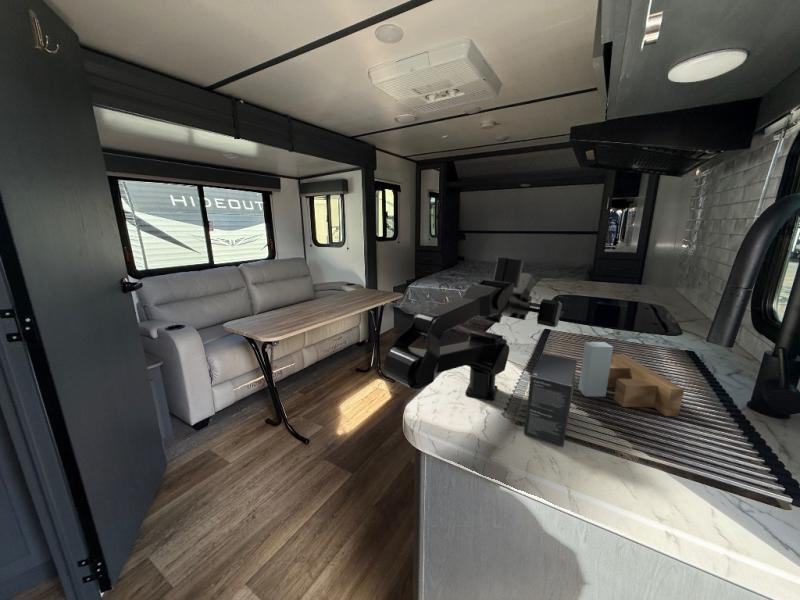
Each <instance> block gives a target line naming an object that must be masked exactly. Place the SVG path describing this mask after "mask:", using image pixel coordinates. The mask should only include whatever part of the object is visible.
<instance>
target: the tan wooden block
mask: <svg viewBox="0 0 800 600" xmlns="http://www.w3.org/2000/svg"><path fill="white" fill-rule="evenodd" d="M607 388H614V395H613V401H614V402H616V403H617V404H618V405H619V406H620V407H623V408H654V409H655V410H656V411H658V412H660V413H661V414H662V415H664V416H665V417H679V415H680V411H681V407H682V401H683V396H684V392H685V389H684V388H683V387H681V386H679V385H677V384H676V383H674V382H673V381H670V380H669V379H667V378H665V377H664V376H662V375H660V374H658V373H657V372H655V371H653V370H651V369H650V368H648V367H647V366H644V365H643V364H642V363H640V362H638V361H635V360H634V359H632V358H631V357H629V356H627V355H625V354H623V353H612V359H611V365H610V371H609V378H608V384H607Z"/></svg>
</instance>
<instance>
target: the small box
mask: <svg viewBox="0 0 800 600" xmlns="http://www.w3.org/2000/svg"><path fill="white" fill-rule="evenodd" d="M577 364H578V360H577V359H573V358H569V357H564V356H559V355H554V354H548V353H545V352H543V353H541V354H540V355H539V357H538V360H537V362H536V364H535V366H534V367H533V369H532V372H531V374H530V376H529V385H528V386H529V389H528V398H527V407H526V412H525V413H526V414H525V420H524V427H523V428H524V430H523V434H524V435H526V436H528V437H532V438H535V439H538V440H540V441H544V442H547V443H550V444H553V445H555V446H559V447H564V444H565V438H566V433H567V432H566V431H567V429H568V428H567V427H568V421H569V416H570V411H571V406H572V399H573V398H572V397H573V393H574V392H573V391H574V386H575V378H576V371H577Z"/></svg>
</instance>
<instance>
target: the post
mask: <svg viewBox="0 0 800 600" xmlns="http://www.w3.org/2000/svg"><path fill="white" fill-rule="evenodd" d="M613 351H614V346H613V345H611V344H609V343H607V342H605V341H585V342H584V345H583V353H582V361H581V369H580V374H579V383H578V391H579V390H580V391H581V394H582V393H583V394H582V395H583V396H585V397H606V396H607V389H608V387H607V384H608V378H609V371H610V365H611V363H612V358H613ZM580 391H579V392H580Z"/></svg>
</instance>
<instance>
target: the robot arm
mask: <svg viewBox="0 0 800 600" xmlns="http://www.w3.org/2000/svg"><path fill="white" fill-rule="evenodd" d="M495 265H496V266H495V270H494V274H493V279H490V278H489V279H488V278H487V279H486V278H482V279H481V280H480V281H479V282H477V283H476V284H473V285H472V286H471V287H469V288H468V289H466V290H465V291H464V294H463V296H461V297H459V298H455V299H454V300H451V301H449V302H447V303H444V304H442V305H439V306H437V307H434V308H432V309H429V310H426V311H421V312H418V313H416V314H415V315H414V316H413V318H412V320H411V321H410V324H409V326H408V327H406V328H405V329H404V330H403V331H402V332H401V333H400V334H398V335H397V336H396V337H395V338H394V340H393V342H392V344H391V346H390V348H389V350H388V351H387V354H386V355H385V357H384V363H383V370H384V373H385V375H386V376H387V377H389V378H390V379H393V380H395V382H399V383H400V384H402V385H403V386H406V387H408V388H410V389H412V390H414V391H419V390H421V389H423V388H425V387H427V386H429V385H430V384H432V383H433V382H434V381H435V379H436V377H437V374H440V373H443V372H448V371H451V370H455V369H457V368H461V367H464V366H467V367H470V368H469V384H468V386H467V387H466V391H465V392H464V393H465V396H469V397H473V398H477V399H478V398H479V399H483V400H487V401H488V400H489V401H495V399H496V396H497V392H498V386H497V385H496V376H497V375H499V374H501V373H502V372H504V371H505V370H506V367H507V363H508V362H507V361H508V358H509V354H510V346H509V345H508V344H507V343H508V341H507V339H505V338H504V336H503V335H500V334H496V333H493V332H488V331H485V330H481V329H477V330H475V331H470V332H469V337H468V340H467V341H463V342H458V343H453V344H448V345H443V346H441V343H440V342H441V339H442V337H443V335H444V333H445V332H448V331H449V330H452V329H453V328H455V327H458V326H459V325H462V324H464V323H466V322H467V321H469V320H471V319H474V318H476V317H484V318H485V319H484V320H485V321H488V322H493V323H497V324H500V323H501V321H502V317H508V318H512V319H519V320H523V321H526V317H527V315H528V314H529V313H530V312H531V313H535V314H537V318H536V321H537V324H538V325H541V326H547V327H552V328H556V327H558V325H559V321H560V318H561V317H560V316H561V312H562V308H563V303H562V302H560V301H558V300H553V299H546V298H543V299H542V300H541V301H540V303H535V302H532V301H533V300H532V299H533V296H532V295H531V292H532V290H533V288H534V285H535V283H536V280H535V279H534V277H533V276H532V274H531V273H527V272H522V269H523V267H524V261H523V260H522V259H514V258H508V257H504V256H503V257H502V256H499V257H497V261H496V264H495ZM422 335H425V336H426V349H422V348H416V347H411V345H412V344H413V343H414V342H415V341H417V340H418V339H419V338H420V337H421V336H422Z"/></svg>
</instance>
